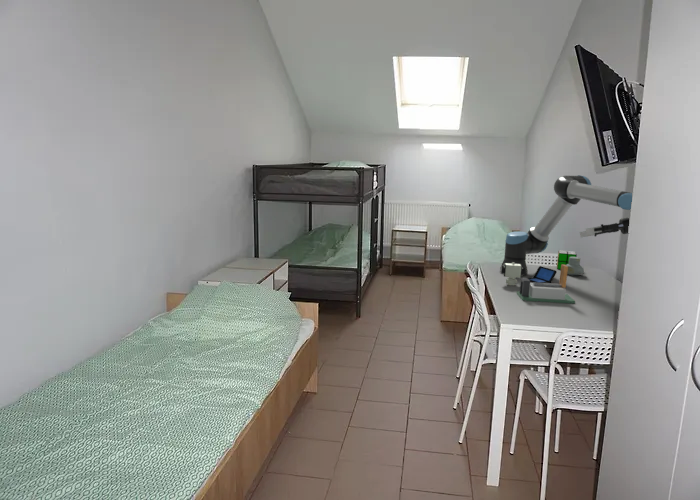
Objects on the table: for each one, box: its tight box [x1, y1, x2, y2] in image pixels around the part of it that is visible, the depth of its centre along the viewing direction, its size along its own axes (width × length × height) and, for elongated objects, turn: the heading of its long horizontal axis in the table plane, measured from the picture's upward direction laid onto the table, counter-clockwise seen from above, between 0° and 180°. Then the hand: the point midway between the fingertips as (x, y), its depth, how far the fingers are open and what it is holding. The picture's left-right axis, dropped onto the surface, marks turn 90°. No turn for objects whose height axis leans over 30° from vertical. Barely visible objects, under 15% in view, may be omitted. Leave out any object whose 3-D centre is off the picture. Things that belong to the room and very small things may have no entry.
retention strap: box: [533, 264, 568, 289], centre depth 257 cm, size 14×5×10 cm, turn 85°
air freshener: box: [566, 256, 585, 277], centre depth 313 cm, size 11×8×10 cm
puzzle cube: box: [556, 249, 578, 270], centre depth 329 cm, size 10×10×10 cm
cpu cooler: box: [516, 277, 576, 304], centre depth 259 cm, size 24×12×9 cm, turn 85°
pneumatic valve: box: [499, 262, 525, 287], centre depth 283 cm, size 6×12×12 cm, turn 81°
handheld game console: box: [527, 266, 557, 283], centre depth 292 cm, size 12×11×7 cm
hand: (583, 233), depth 262 cm, fingers open, 13 cm apart
